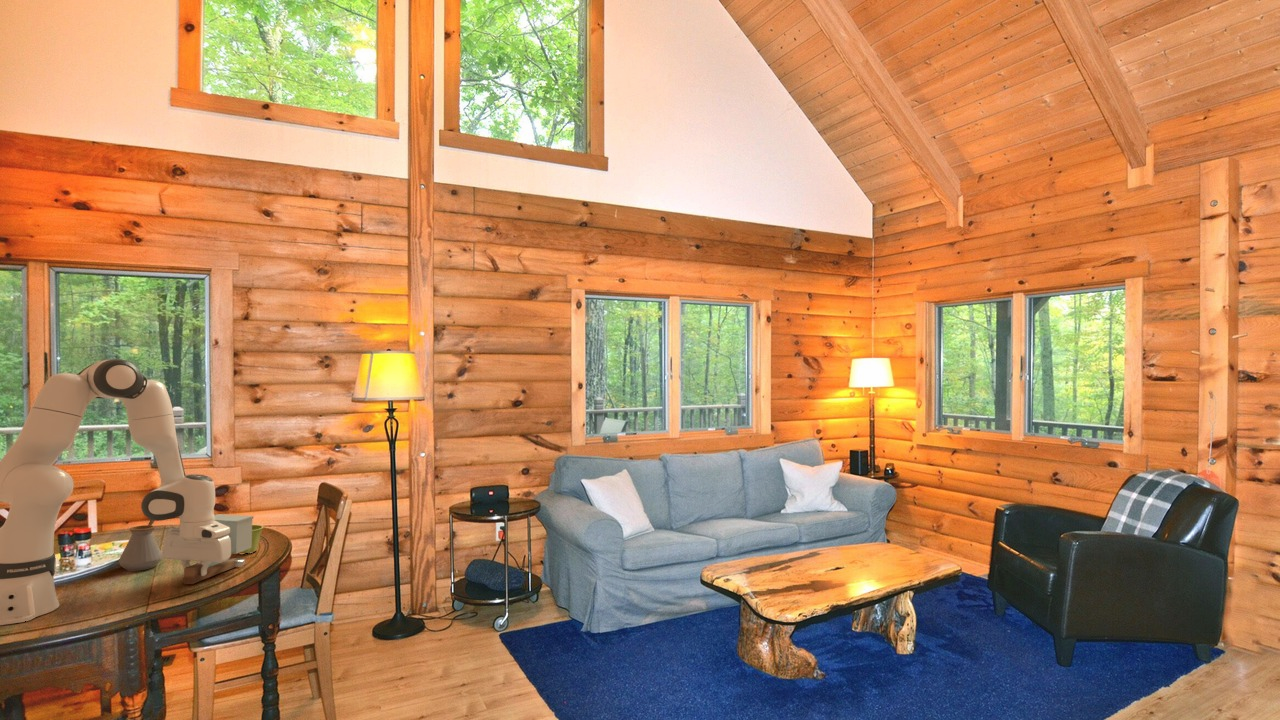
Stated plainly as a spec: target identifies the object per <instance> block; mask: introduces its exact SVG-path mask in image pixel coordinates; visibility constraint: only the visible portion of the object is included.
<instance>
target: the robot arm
mask: <svg viewBox="0 0 1280 720" xmlns="http://www.w3.org/2000/svg"><path fill="white" fill-rule="evenodd" d="M94 399H118V400H120V401H121V402H122V404H123V405H124V407H125V410H126V418H127V423H128V429H129V433H130V435H131V438H132V440H133V442H134V443H135V444H137V445H139V446H140V447H142V448H144V449H147V451H149V452H150V453H152V455H153V456H154V457H155V461H156V464H157V468H158V472H159V473H158V474H159V477H160V486H159V487H157V488H155V489H153V490H151V491H150V492H149V493H147V494H145V496H144V497H143V498H142V501H141V504H140V509H141V512H142V513H143V515H144V516H145V517H146V518H147V519H149V520H155V521H156V522H157V521H167V520H170V519H175V518H178V519H179V527H174V526H173V527H172V526H171V527H170V528H168V529H166V531H165V533H164V540H163V546H162V550H161V553H162V556H163V557H162V558H163V559H164V560H178V561H181V562H180V564H181V566H182V567H183V569H184V568H186V567H189V566H191V565H192V564H191V563H190V562H193V561H194V562H195V561H196V562H201V561H202V565H203V566H202V568H201V569H200V570H198V575H199V576H204V575H206V574H207V568H208V567H209V565H210V564H211V562H220V563H221V562H224V561H227V560H230V559H231V556H232V553H231V540H230V537H229V536H228V535H227V534H229V533H230V527H228V526H226V525H223V524H221V523H219V522H217V521H215V515H216V514H215V512H214V509H215V505H216V488H215V487H216V486H215V482H214V480H213V478H211V477H209V476H208V475H204V474H187V475H186V471H185V466H184V463H183V458H182V453H181V450H180V446H179V442H178V437H177V431H176V424H175V422H176V421H175V416H174V410H173V406H172V405H173V404H172V402H171V397H170V395H169V393H168V390H167V388H166V385H165V384H164V383H163V382H161V381H159V380H156V379H147V377H146V376H145V375H144V374H143V373H142V372H141V371H140V369H139V368H138V367H137V365H135V364H134V363H132V362H131V361H128V360H126V359H123V358H122V359H121V358H114V359H113V358H112V359H104V360H102V359H101V360H99V361H97V362H95V363H92V364H90V365H88V366H87V367H85V368H84V369H82V370H81V371H80V372H78V373H69V372H60V373H59V372H58V373H55V374H53V375H51V376H50V377H49V378H47V380H46V382H45V383H44V384H43V386H42V387H41V389H40V390H39V392H38V394H37V396H36V397H35V399H34V402H33V404H32V406H31V407H30V410H29V413H28V415H27V417H26V419H25V422H24V424H23V426H22V428H21V430H20V433H19V435H18V436H17V438H16V440H15V442H14V443H13V444H12V446H11V447H10V448H9V450H8V451H7V452H6V453H5V455H4V456H3V457H2V458H1V460H0V503H6V504H9V509H8V510H9V511H8V514H7V516H6V519H5V522H4V523H3V525H1V526H0V626H4V625H12V624H17V623H26V622H28V621H31V620H33V619H35V618H36V617H37V618H38V617H39V616H43V615H46V614H49V613H51V612H53V611H55V610H57V609H58V608H59V607H60V602H59V600H58V596H57V593H56V587H55V579H54V576H55V573H56V567H57V566H56V563H57V558H56V554H55V553H54V544H55V529H56V523H57V521H58V520H57V519H58V516H59V513H60V510H61V508H62V505H63V504H64V502H65V501H66V500H67V499H68V498H69V497H70V496H71V495H72V494H73V491H74V479H73V477H72V475H71V474H70V473H68V472H66V471H65V470H63V469H62V468H59V467H58V466H55V465H54V463H56V461H57V459H58V458H59V457H60V456H61V455H62V454H63V453H64V452H65V451H67V450H68V449H69V448H70V447H71V446H72V445H73V443H74V441H75V438H76V435H77V433H78V430H79V428H80V426H81V423H82V421H83V418H84V416H85V413H86V409H87V407H88V406H89V405H90V403H91V402H92V401H93V400H94ZM155 521H154V522H155ZM25 621H26V622H25Z"/></svg>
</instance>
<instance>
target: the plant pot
mask: <svg viewBox="0 0 1280 720" xmlns="http://www.w3.org/2000/svg"><path fill="white" fill-rule="evenodd" d="M263 529H264V526H263V525H260V524H252V546H251V548H250V549H247V550H244V551H242V552H239V553H248V554H251V553H250V552H254V551H256V550H257V551H258V547H259V543H260V542H259V541H260V536H261V533H262V531H263Z"/></svg>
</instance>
